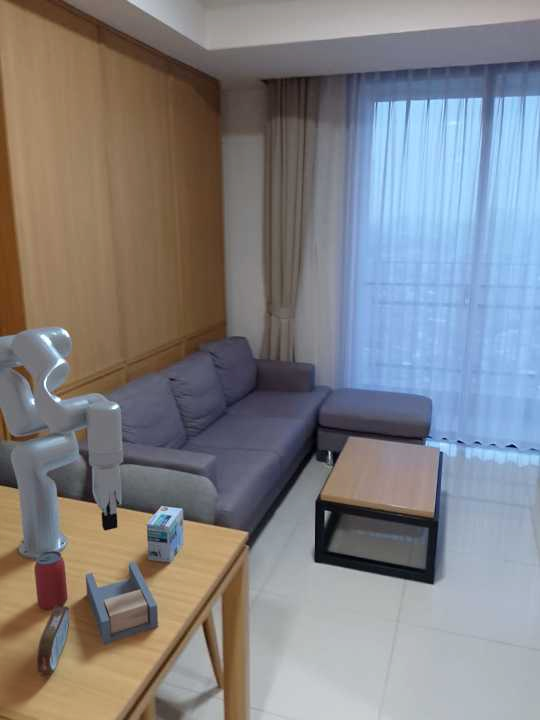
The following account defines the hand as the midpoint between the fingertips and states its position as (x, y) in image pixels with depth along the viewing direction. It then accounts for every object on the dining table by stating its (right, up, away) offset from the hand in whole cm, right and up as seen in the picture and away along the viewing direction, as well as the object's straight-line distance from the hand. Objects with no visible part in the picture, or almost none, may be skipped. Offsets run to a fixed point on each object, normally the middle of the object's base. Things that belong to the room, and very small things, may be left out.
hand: (109, 527), depth 132 cm
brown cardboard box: (+6, -19, -6) cm, 21 cm away
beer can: (-14, -18, +1) cm, 23 cm away
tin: (-7, -22, -15) cm, 28 cm away
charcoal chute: (+3, -19, -1) cm, 19 cm away
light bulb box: (+9, -14, +23) cm, 28 cm away
